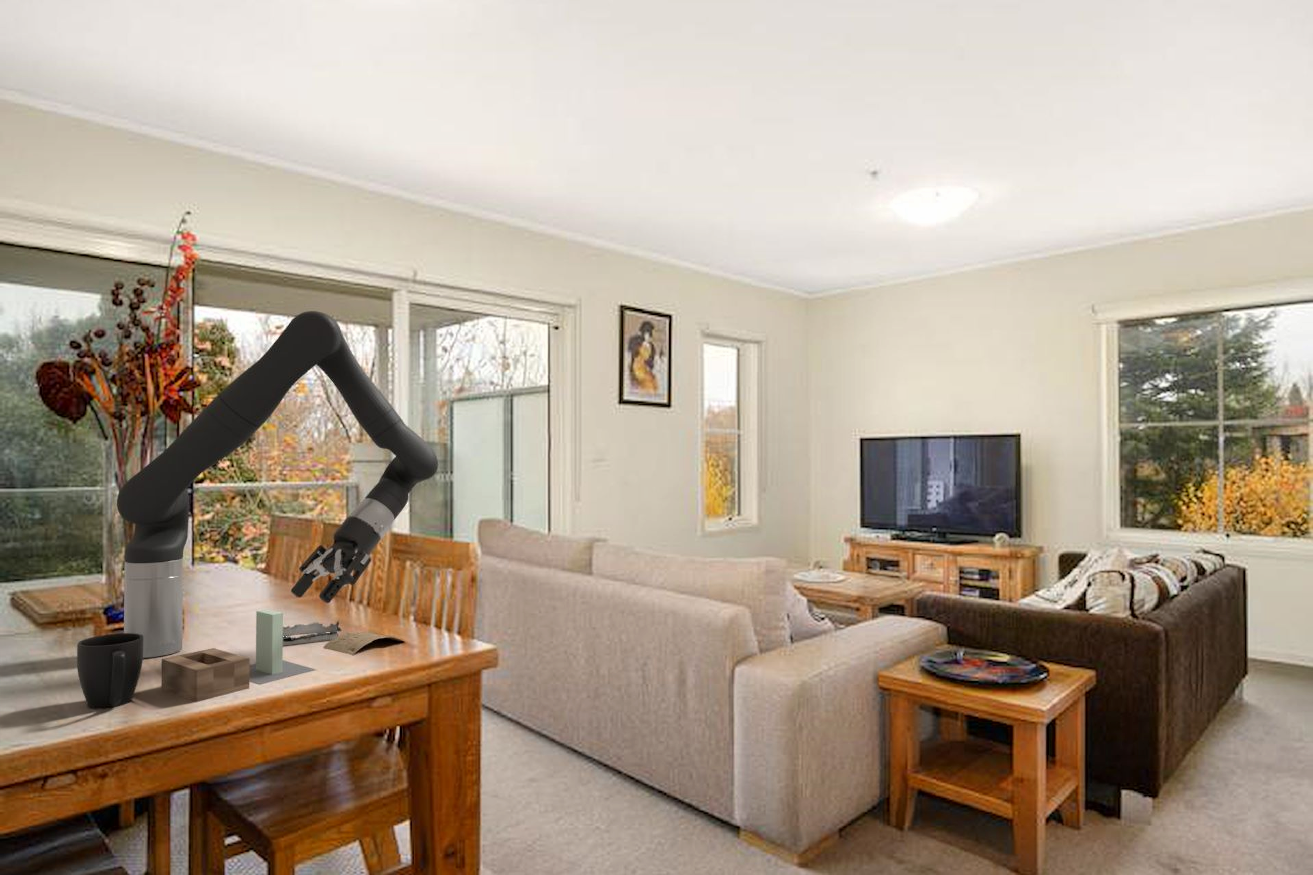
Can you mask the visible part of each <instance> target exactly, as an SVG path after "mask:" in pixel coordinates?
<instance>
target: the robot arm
mask: <svg viewBox="0 0 1313 875" xmlns="http://www.w3.org/2000/svg"><path fill="white" fill-rule="evenodd" d="M315 366H317V367H318V368H319V369H320V370H321V371H322V372H323V373H324V374H325V375H326V376H327V377H328V379H329V380H330V381H331V382H332V384H333V385H334V386H335V387H336V389H337V391H338V392H339V393H340V396H341V397H342V398H343V400H344V402H345V404H346V405H347V406H348V408H349V410H350V412H351V413H352V415H353V416H354V417H355V419H356V421H357V422H358V423H359V425H360V427H361V428H362V430H364V432H366V434H367V435H368V437H369V438H370V439H371V441H372V442H373V443H374V445H376V446H377V447H378V448H379V449H383V450H384V449H385V450H388V451H390V452H391V453H392V454H393V455H394V456H395V457H394V458H392V460H391V461H390V462H389V464H388V465H387V466H386V468H385V469H384V471H383V473H382V475H381V476H380V478H379V480H378V482H377V484H375V485H374V487H373V488H372V489H371V490H370V491H369V492H368V493H367V495H366V496H365V497H364V498H363V499H362V501H361V502H359V503H358V504H357V505H356V507H354V508H353V510H352V511H351V512H350V513H349V515H348V516H347V517H346V518H345V519H344V520H343V522H342V523H341V524H340V526H339V527H338V528H336V531H335V532H334V533H333V535H332V536H333V537H332V538H333V544H332V545H331V546H330V547H329V548H326V547H324V545H323V544H320V545H318V547H317V548H315V550H314V551H313V552H312V553H311V554H310V555H309V556H308V557H307V559H305V561H304V562H303V563H302V564H301V566H300V567H299V571H300V572H301V573H302V575H301V577H300V578H299V579H298V581H297V582H296V583H295V584H294V586H293V587H292V588H291V590H290V592H291V594H293V595H294V596H295V597H297V598H302V597H303V596H304V594H306V592H307V591H308V590H309V588H310V587H311V586H312V584H313V583H314V582H315V581H316V580H318V579H319V578H320V577H326V576H328V575H330V574H333V573H334V575H333V579H330V580H329V582H328V583H327V585H326V586H325V587H324V588H323V589H322V591H321V592H320V593H319V594H318V598H319V599H321V601H323V602H324V603H326V604H329V603H331V601H332V600H333V599H334V598H335V597H336V595H338V593H339V591H340V590H341V589H342V588H344V587H347V586H348V585H351V586H354V585H355V584H356V583H357V581H359V578H360V577H361V576H362V575H363V573H364V571H365V570H366V569H367V568H368V566H369V565H370V563H371V562H372V557H370V554H372V552H373V550H374V549H375V548H376V547H377V545H378V544H379V543H380V542H381V540H382V538H384V537H385V535H386V534H387V533H388V532H389V529H391V526H392V524H393V523H394V521H395V520H396V519H397V517H398V516H399V515H400V513H401V512H402V511H403V510H404V508H405V507H406V505H407V503H408V502H409V497H410V496H409V494H410V493H411V491H412V489H413V488H414V487H415V486H416V485H417V484H418V483H421V482H424V481H426V480H429V479H432V477H434V476H435V475H436V473H437V471H438V468H439V467H438V466H439V462H438V457H437V455H436V453H435V451H434V449H433V448H432V447H431V446H430V445H429V444H428V443H427V441H425V440H424V439H423V438H422V437H421V436H420V435H418V434H417V432H415V431H414V430H413V429H411V428H410V427H409V426H407V425H406V423H405V422H404V421H403V419H402V418H401V416H400V414H399V413H398V412H397V411H396V409H394V407H393V406H392V404H391V403H390V402H389V401H388V399H387V398H386V397H385V395H383V393H382V392H381V390H380V389H379V388H378V387H377V386H376V385H375V383H374V382H373V381H372V379H370V377H369V376H368V375H367V373H366V372H365V370H364V369H363V368H362V366H361V364H360V363H359V362H358V360H357V358H356V357H355V355H354V354H353V352H352V350H351V349H350V346H349V345H348V342H347V341H346V339H345V337H344V335H343V333H342V329H341V327H340V325H339V323H338V322H337V321H336V320H335V319H334V318H333V317H332V316H331V315H329V314H327V313H324V312H321V311H316V310H309V311H308V310H307V311H303V312H300V313H299V314H297V315H295V317H293V318H292V319H291V321H290V322H288V324H287V326H286V327H285V328H284V330H282V332H281V334H280V335H279V336H278V337H277V339H276V340H275V341H274V342H273V343H272V345H271V346H270V347H269V349H268V350H267V351H266V352H265V353H264V354H263V355H262V356H261V357H260V358H259V359H258V360H257V361H256V362H254V363H253V364H252V365H251V366H250V367H248V368H247V369H246V370H244V371H243V372H242V373H241V374H240V375H238V376H237V377H236V378H235V379H234V380H233V381H231V382H230V383H229V384H228V385H227V386H226V387H225V388H224V389H222V391H221V392H219V393H218V394H217V395H216V396H215V397H214V398H213V400H211V401H210V402H209V403H208V404H207V405H206V406H205V407H204V408H203V410H201V412H200V413H199V414H198V415H197V416H196V417H195V418H194V419H193V420H192V421H191V422H190V423H189V424H188V426H186V428H184V429H183V431H182V432H180V434H179V435H178V436H177V437H176V438H175V439H174V440H173V442H172V443H171V444H170V445H169V446H168V447H167V448H166V449H165V450H164V451H162V452H161V453H160V454H159V455H158V456H157V457H155V458H154V459H153V460H152V461H151V462H149V463H147V465H146V466H144V467H143V468H142V469H140V470H139V471H138V472H137V473H135V474H134V475H133V476H132V477H130V478H129V479H128V480H126V482H125V483H124V484H123V485H122V486H121V488H120V490H119V493H118V494H117V498H116V508H117V511H118V513H119V515H120V516H121V518H122V519H124V520H125V521H127V522H128V523H130V524H134V532H133V536H132V538H131V540H129V543H127V545H126V546H125V548H124V575H123V576H124V589H123V590H124V591H123V593H124V600H123V603H124V604H123V606H124V609H123V633H135V634H141V635H143V659H144V658H145V659H146V658H157V657H163V656H166V655H167V656H168V655H171V654H174V653H177V652H179V651H181V650H182V649H183V623H184V622H183V620H184V619H183V616H184V606H183V605H184V549H185V546H186V544H187V541H188V535H189V519H190V518H189V516H190V497H189V492H188V487H189V486H190V485H191V484H192V483H193V482H194V481H195V479H197V478H198V477H199V476H200V475H201V474H202V473H204V472H205V471H206V470H208V469H210V467H212V466H214V465H215V464H217V463H218V462H220V461H221V460H223V459H224V458H226V457H227V456H229V455H230V454H232V453H233V452H234V451H236V450H237V449H239V448H240V447H241V446H242V445H244V444H245V443H246V442H247V441H248V440H249V439H251V437H252V436H253V435H254V434H255V433H256V432H257V431H258V430H259V429H260V428H261V427H262V426H263V425H264V424H265V423H266V421H267V420H268V419H269V418H270V417H271V415H272V414H273V413H274V412H275V410H276V409H277V408H278V407H279V405H280V404H281V402H282V401H283V399H284V398H285V396H286V395H287V393H288V392H289V391H290V389H291V388H292V387H293V386H294V385H295V384H296V383H297V382H298V381H299V380H300V379H301V378H302V377H303V376H304V375H306V374H307V373H308V372H309V371H310V370H311V369H313V368H314V367H315ZM353 571H354V574H353V576H352V573H353Z"/></svg>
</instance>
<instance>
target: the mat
mask: <svg viewBox="0 0 1313 875" xmlns="http://www.w3.org/2000/svg"><path fill="white" fill-rule="evenodd" d="M314 671H317V668H314V667H313V668H312V667H309V666H307V665H306V666H305V665H302V664H298V663H294V662H291V661H287V660H285V659H283V661H282V672H280V673H276V674H269V673H266V672H262V671H259V670H256V663H253V664H250V668H249V683H253V684H257V685H264V684H268V683H272V682H274V681H275V682H276V681H279V680H283V679H286V678H291V677H294V676H298V675H303V674H305V673H309V672H314Z"/></svg>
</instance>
